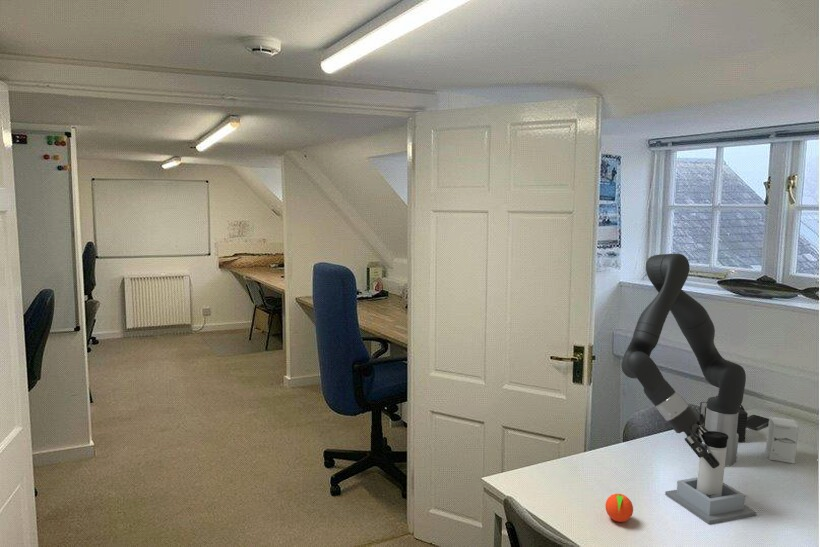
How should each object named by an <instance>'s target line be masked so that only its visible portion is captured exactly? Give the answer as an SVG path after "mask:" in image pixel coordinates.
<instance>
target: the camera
mask: <svg viewBox="0 0 820 547" xmlns="http://www.w3.org/2000/svg"><path fill="white" fill-rule="evenodd" d="M717 396H718V395H716V396H715V397H717ZM699 404H700V405H699V414H698V417H699V421H700V422H701V423H702V424H703V426H704V427H705V419H706V407H707V401H701V402H700V403H699ZM747 417H749V413H748V412H747V411H746V410H745V408H744V406H743V404H741V406H740V407H739V413H738V424H737V433H738V435H739V438H738V443H745V442H746V433H747V432H746V431H747V428H746V426H747V425H746V422H747Z"/></svg>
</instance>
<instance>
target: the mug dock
mask: <svg viewBox="0 0 820 547" xmlns="http://www.w3.org/2000/svg"><path fill="white" fill-rule="evenodd" d="M697 479H698V477H691V478H687V479H679V480H677V483H676V484H677V485H676V489H673V490H666V491H665V493H664V495H665V496H666V497H668V498H669V499H671V500H672V501H673V502H676V503H677V504H678V505H680V506H681V507H682V508H684V509H686V510H687V511H688V512H690V513H692V514H693V515H694V516H696V517H697V518H699V519H700V520H702V521H703V522H705V523H706V524H707V525H712V524H717V523H722V522H728V521H734V520H739V519H743V518H749V517H754V516H757V510H754V509H752V508H751V507H749V506H747V505H746V504H745V502H746V494H744V493H742V492H741V491H739V490H737V489H735V488H734V487H732V486H730V485H728V484H727V483H725V482H723V486H722V495H721V497H716V498H709V497H707V496H706V495H704V494H703V493H701V492H699V491H698V490H696V489H697Z"/></svg>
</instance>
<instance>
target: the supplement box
mask: <svg viewBox="0 0 820 547" xmlns="http://www.w3.org/2000/svg"><path fill="white" fill-rule="evenodd" d="M768 419H769V425H768V426H767V434H766V436H767V437H766V445H765V452H766V456H767V458H768V459H769V460H770V461H776V462H782V463H783V462H785V463H789V464H795V463H796V458H797V457H796V455H797V448H798V447H797V445H798V438H799V432H800V426H799V425H798V424H797V422H796V420H795V419H789V418H784V417H782V418H781V417H777V416H769V418H768Z"/></svg>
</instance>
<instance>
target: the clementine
mask: <svg viewBox="0 0 820 547" xmlns="http://www.w3.org/2000/svg"><path fill="white" fill-rule="evenodd" d="M605 511H606V512H605V513H607V515H608V516H609V518H610V519H612V520H613V521H614V522H619V523H623V522H624V523H625V522H627V521H628V520H630V519H631V517H632V516H633V514H634V505H633V503H632V501H631V499H630V498H629V497H627V496H626V495H625V494H622V493H613V494H611V495H610V496H609V497H608V498H607V499H606V501H605Z"/></svg>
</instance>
